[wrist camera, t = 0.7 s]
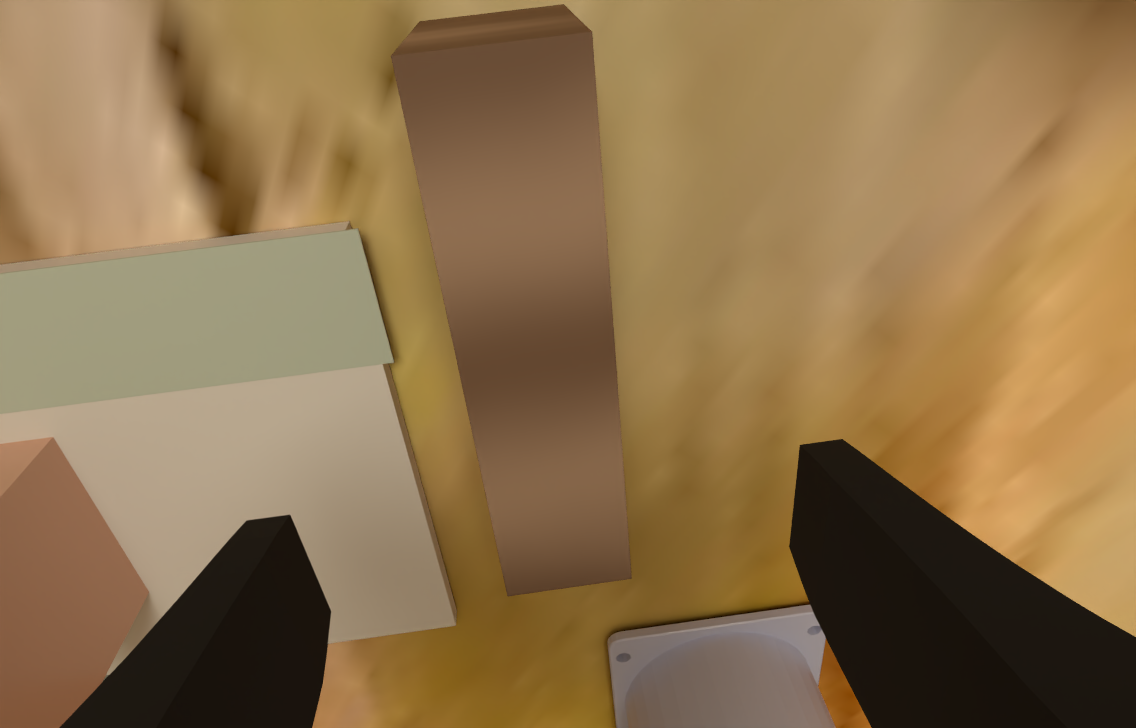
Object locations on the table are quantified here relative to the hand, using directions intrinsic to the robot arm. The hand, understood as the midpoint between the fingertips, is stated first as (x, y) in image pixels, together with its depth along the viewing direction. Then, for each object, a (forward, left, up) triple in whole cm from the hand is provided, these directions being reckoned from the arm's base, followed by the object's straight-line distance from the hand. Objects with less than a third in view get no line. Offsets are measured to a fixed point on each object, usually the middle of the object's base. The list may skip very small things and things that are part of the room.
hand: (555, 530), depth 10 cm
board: (-5, +12, -9) cm, 16 cm away
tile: (-6, +13, -8) cm, 17 cm away
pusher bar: (0, 0, -9) cm, 9 cm away
